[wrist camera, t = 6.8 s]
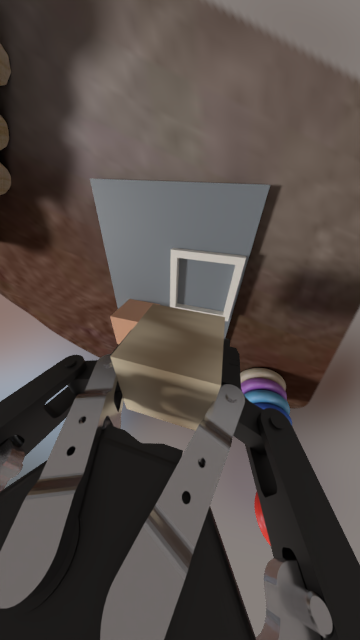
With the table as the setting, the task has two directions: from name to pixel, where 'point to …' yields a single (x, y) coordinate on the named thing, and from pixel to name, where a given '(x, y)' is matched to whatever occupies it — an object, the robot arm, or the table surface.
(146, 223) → the board
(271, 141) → the table surface
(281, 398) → the stacking toy
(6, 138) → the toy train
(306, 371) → the table surface
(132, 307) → the terracotta block
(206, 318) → the maple block
